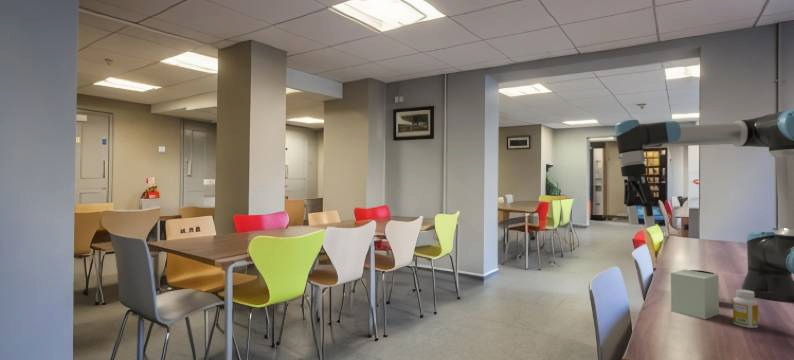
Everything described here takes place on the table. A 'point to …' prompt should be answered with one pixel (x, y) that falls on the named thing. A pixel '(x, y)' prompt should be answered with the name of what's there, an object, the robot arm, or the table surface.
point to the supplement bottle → (745, 309)
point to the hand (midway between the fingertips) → (641, 225)
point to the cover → (695, 293)
